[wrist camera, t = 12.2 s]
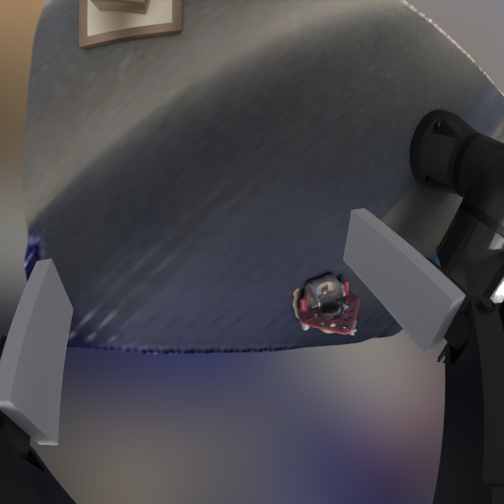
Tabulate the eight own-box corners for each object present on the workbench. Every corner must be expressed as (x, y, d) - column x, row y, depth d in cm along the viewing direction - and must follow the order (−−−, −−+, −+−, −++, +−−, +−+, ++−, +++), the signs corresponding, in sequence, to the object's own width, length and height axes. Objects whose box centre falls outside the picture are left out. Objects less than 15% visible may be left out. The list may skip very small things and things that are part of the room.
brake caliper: (352, 260, 51) (379, 326, 47) (334, 276, 61) (356, 330, 58) (292, 283, 49) (318, 353, 46) (283, 295, 60) (304, 352, 56)
